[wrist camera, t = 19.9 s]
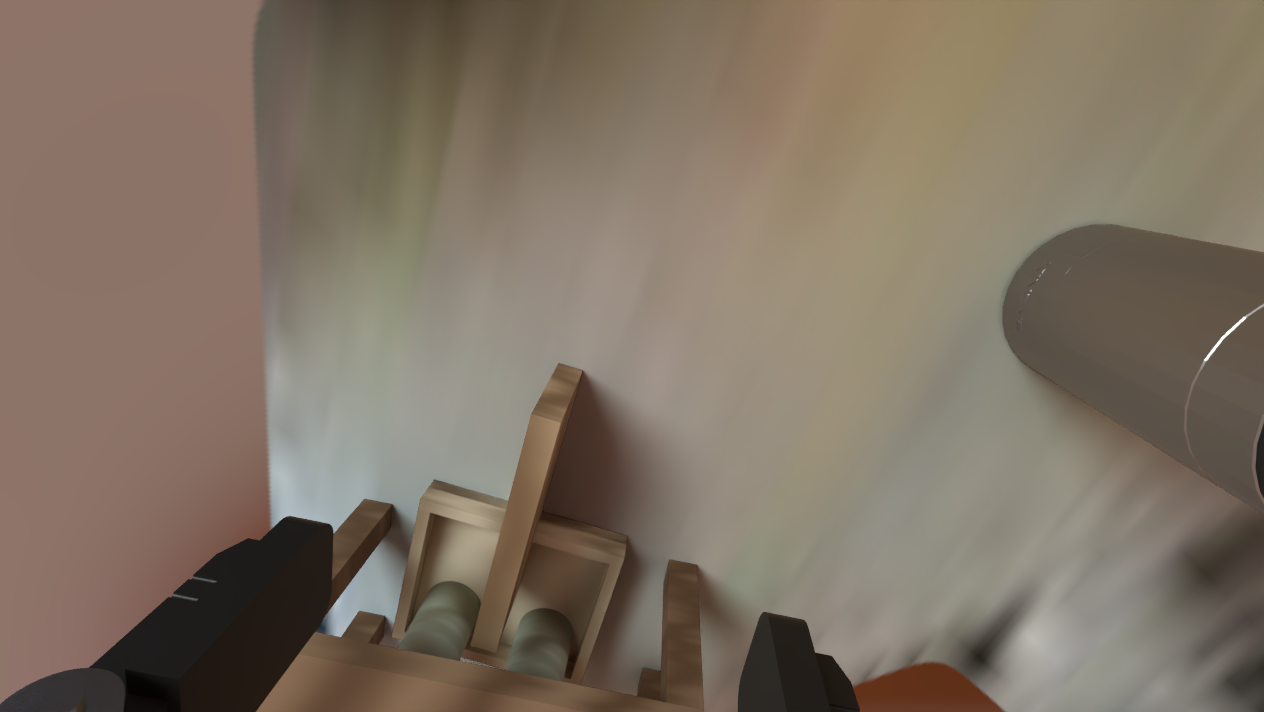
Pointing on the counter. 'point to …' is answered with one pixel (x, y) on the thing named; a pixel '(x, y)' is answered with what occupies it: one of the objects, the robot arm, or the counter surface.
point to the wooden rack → (464, 692)
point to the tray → (510, 565)
